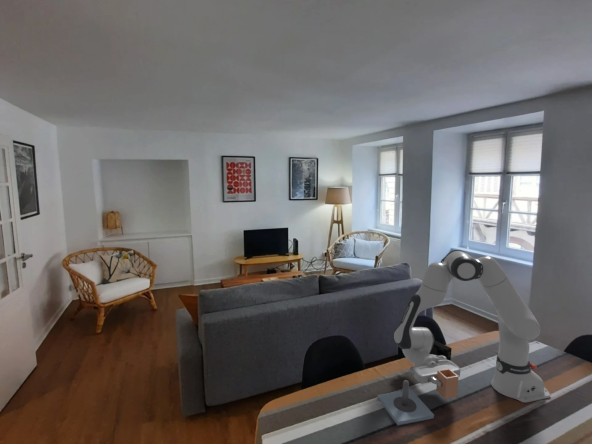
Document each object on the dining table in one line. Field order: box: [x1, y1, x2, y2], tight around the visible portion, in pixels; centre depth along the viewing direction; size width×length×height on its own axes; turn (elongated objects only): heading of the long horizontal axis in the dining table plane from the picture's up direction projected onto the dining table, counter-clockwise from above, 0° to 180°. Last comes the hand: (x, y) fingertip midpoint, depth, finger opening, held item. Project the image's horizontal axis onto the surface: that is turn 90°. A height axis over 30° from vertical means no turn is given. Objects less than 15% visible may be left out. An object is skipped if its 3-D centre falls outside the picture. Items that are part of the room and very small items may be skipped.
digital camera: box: [429, 339, 452, 361], centre depth 173 cm, size 10×5×7 cm, turn 32°
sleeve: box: [436, 369, 459, 400], centre depth 136 cm, size 6×6×9 cm
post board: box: [377, 379, 435, 426], centre depth 135 cm, size 16×16×12 cm
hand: (448, 383), depth 135 cm, fingers closed on sleeve, 6 cm apart
